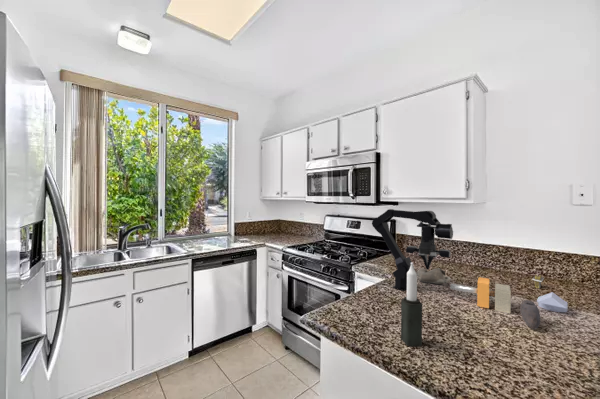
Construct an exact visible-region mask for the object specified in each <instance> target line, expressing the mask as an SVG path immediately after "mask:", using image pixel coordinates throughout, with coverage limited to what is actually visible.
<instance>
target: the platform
mask: <svg viewBox="0 0 600 399" xmlns="http://www.w3.org/2000/svg"><path fill="white" fill-rule="evenodd" d="M537 275H538V274H537V273H536V274H535V276H533V277H532V281H534V287H535V288H537V289H539V290H540V289H541V287H542V282H543V281H544V279H545V278H544V277H543V276H542V274H540V275H539V276H537Z"/></svg>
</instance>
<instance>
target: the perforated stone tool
mask: <svg viewBox="0 0 600 399" xmlns="http://www.w3.org/2000/svg"><path fill="white" fill-rule="evenodd" d="M538 308H539V307H538V305H537V304H536V303H534V301H532V300H528V299H525V300H523V301H521V303H520V306H519V311H520V315H521V317H522V319H523V321H524V323H525V324H526V326H528V328H530V329H532V330H537V329H538V328H539V327H540V325H541V314H540V311H539V310H540V309H538Z"/></svg>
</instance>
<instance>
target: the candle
mask: <svg viewBox="0 0 600 399" xmlns="http://www.w3.org/2000/svg"><path fill="white" fill-rule="evenodd" d="M417 297H418V275H417V271H416V270H415V267H414V262H412V261H411V266H410V269H409V271H408V272H407V290H406V296H404V297H403V298H401V300H400V301H401V302H400V304H401V307H400V308H401V311H400V312H401V314H400V315H401V316H400V340H401V341H402V342H403V343H404V344H405V345H406V346H407V347H422V345H423V343H422V342H423V302H421V301H420V299H419V298H417Z"/></svg>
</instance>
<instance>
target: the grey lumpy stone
mask: <svg viewBox="0 0 600 399" xmlns="http://www.w3.org/2000/svg"><path fill="white" fill-rule="evenodd" d="M416 273H417V278H418V280H419V281H420V282H422V283H428V284H434V285H435V284H436V285H443V284H449V283H450V282H451V281H452V278H451V277H450V276H447V275H446V271H445V270H444V269H442V268H439V267H437V268H433V269H431V270H429V271H428V269H426V268H422V267H421V268H419V269H417V271H416Z"/></svg>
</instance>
